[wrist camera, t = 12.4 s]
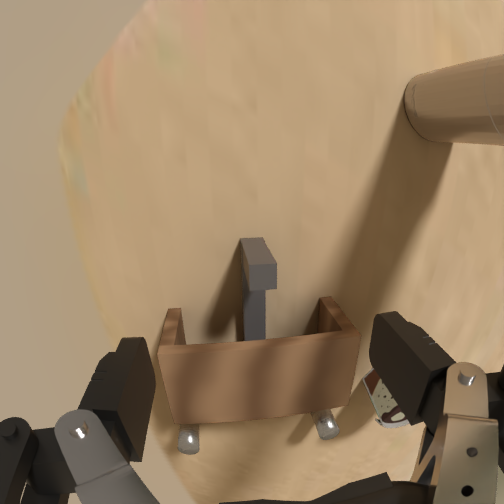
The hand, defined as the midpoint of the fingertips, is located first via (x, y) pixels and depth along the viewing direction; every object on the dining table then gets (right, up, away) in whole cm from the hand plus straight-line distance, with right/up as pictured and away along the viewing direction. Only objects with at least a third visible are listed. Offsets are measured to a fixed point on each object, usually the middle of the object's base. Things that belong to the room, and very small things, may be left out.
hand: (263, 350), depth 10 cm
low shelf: (0, -8, +29) cm, 30 cm away
